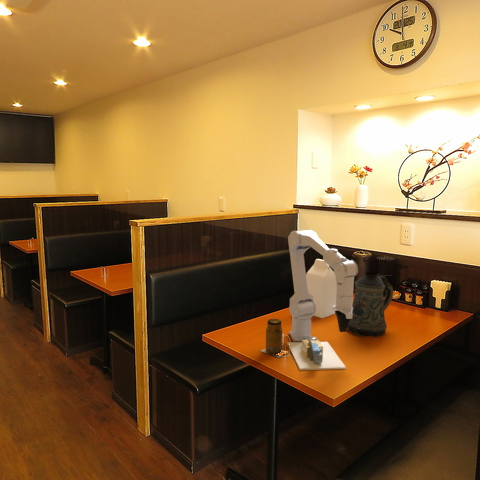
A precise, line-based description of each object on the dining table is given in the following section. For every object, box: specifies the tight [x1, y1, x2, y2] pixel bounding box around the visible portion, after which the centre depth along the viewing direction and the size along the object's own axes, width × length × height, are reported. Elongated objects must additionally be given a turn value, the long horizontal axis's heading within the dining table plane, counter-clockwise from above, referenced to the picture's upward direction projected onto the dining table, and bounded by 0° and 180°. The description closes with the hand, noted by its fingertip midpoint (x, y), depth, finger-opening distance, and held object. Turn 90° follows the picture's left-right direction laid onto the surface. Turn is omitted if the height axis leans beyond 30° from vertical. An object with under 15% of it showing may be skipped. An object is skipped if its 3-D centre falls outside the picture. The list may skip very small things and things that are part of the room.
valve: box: [301, 336, 323, 365], centre depth 150 cm, size 17×6×5 cm, turn 5°
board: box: [287, 341, 347, 371], centre depth 151 cm, size 22×16×1 cm
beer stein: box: [347, 272, 394, 338], centre depth 176 cm, size 16×19×25 cm
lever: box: [308, 335, 320, 355], centre depth 145 cm, size 13×3×1 cm, turn 177°
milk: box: [306, 258, 338, 319], centre depth 197 cm, size 12×12×26 cm
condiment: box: [260, 318, 283, 358], centre depth 153 cm, size 7×8×12 cm
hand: (342, 331), depth 147 cm, fingers closed
